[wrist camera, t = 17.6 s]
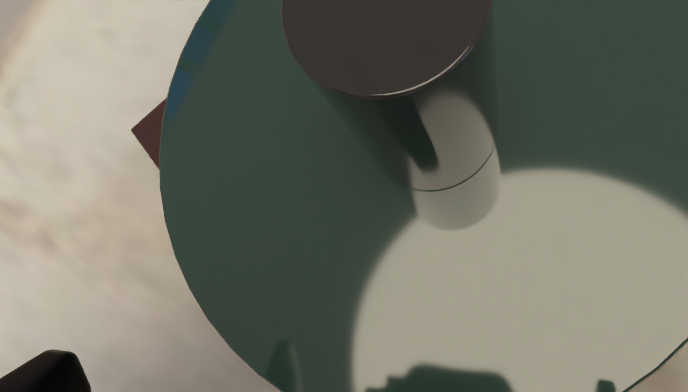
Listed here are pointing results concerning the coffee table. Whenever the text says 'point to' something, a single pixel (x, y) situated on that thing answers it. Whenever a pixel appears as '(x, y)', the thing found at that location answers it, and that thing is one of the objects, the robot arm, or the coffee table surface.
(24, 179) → the coffee table surface
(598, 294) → the tin lid
